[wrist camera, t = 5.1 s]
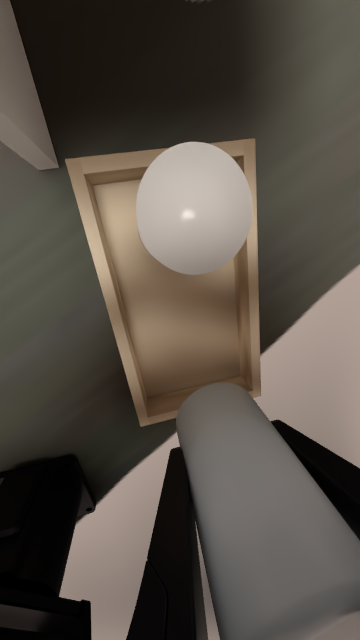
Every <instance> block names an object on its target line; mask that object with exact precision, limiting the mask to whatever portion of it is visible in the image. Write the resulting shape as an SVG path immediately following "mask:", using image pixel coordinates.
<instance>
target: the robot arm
mask: <svg viewBox="0 0 360 640" xmlns="http://www.w3.org/2000/svg"><path fill="white" fill-rule="evenodd" d="M270 422H271V423H272V424H273V426H274V427H275V428H276V430H277V431H278V432H279V434H280V435H281V436H282V438H283V439H284V440H285V442H286V443H287V444H288V446H289V447H290V448H291V450H292V451H293V452H294V454H295V455H296V456H297V458H298V459H299V460H300V462H301V463H302V464H303V466H304V467H305V468H306V470H307V471H308V472H309V474H310V475H311V476H312V478H313V479H314V480H315V482H316V483H317V484H318V486H319V487H320V488H321V490H322V491H323V492H324V494H325V495H326V496H327V498H328V499H329V500H330V502H331V503H332V504H333V506H334V507H335V508H336V510H337V511H338V512H339V514H340V515H341V516H342V518H343V519H344V520H345V522H346V523H347V524H348V526H349V527H350V528H351V530H352V531H353V532H354V534H355V535H356V536H357V538H358V539H359V540H360V468H358V467H357V466H355V465H353V464H352V463H350V462H348V461H347V460H345V459H343V458H342V457H340V456H338V455H336V454H335V453H333V452H332V451H330V450H328V449H327V448H325V447H323V446H321V445H320V444H319V443H317V442H315V441H314V440H312V439H310V438H308V437H307V436H305V435H304V434H302V433H300V432H299V431H297V430H295V429H294V428H292V427H290V426H289V425H287V424H285V423H284V422H282V421H280V420H274V421H270ZM95 507H96V502H95V500H94V498H93V495H92V493H91V491H90V489H89V487H88V484H87V482H86V480H85V478H84V476H83V473H82V471H81V469H80V467H79V465H78V462H77V460H76V458H75V457H73V456H67V457H63V458H59V459H55V460H52V461H48V462H44V463H40V464H36V465H33V466H29V467H25V468H21V469H18V470H14V471H10V472H6V473H2V474H0V640H91V603H90V601H87V600H81V601H75V600H71V599H66V598H61V597H59V594H60V590H61V585H62V581H63V576H64V572H65V568H66V563H67V559H68V555H69V550H70V546H71V542H72V537H73V533H74V529H75V524H76V520H77V517H79V516H83V515H86V514H89V513H92V512H94V510H95ZM147 559H148V560H147V561H146V565H145V569H144V574H143V578H142V582H141V587H140V590H139V595H138V599H137V603H136V607H135V610H134V614H133V618H132V621H131V624H130V628H129V632H128V635H127V638H126V640H208V633H207V624H206V615H205V606H204V597H203V588H202V578H201V569H200V560H199V551H198V542H197V532H196V523H195V516H194V511H193V506H192V501H191V496H190V490H189V484H188V478H187V473H186V469H185V464H184V459H183V455H182V450H181V447H177V448H173V449H171V451H170V455H169V460H168V464H167V469H166V474H165V478H164V483H163V488H162V492H161V497H160V501H159V506H158V510H157V515H156V519H155V524H154V528H153V533H152V538H151V542H150V547H149V551H148V556H147Z"/></svg>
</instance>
